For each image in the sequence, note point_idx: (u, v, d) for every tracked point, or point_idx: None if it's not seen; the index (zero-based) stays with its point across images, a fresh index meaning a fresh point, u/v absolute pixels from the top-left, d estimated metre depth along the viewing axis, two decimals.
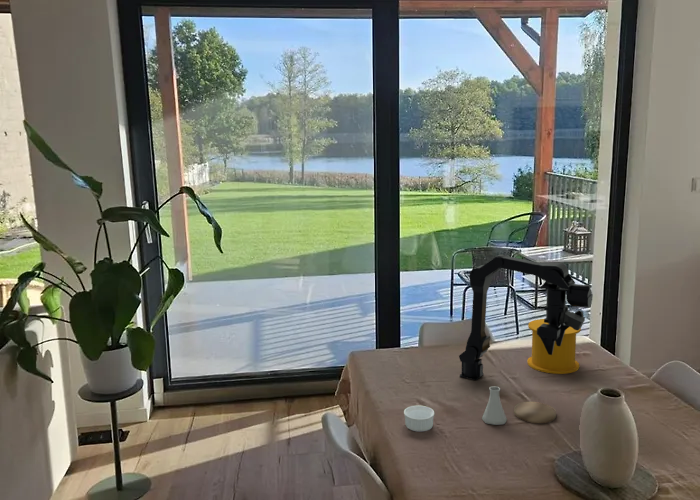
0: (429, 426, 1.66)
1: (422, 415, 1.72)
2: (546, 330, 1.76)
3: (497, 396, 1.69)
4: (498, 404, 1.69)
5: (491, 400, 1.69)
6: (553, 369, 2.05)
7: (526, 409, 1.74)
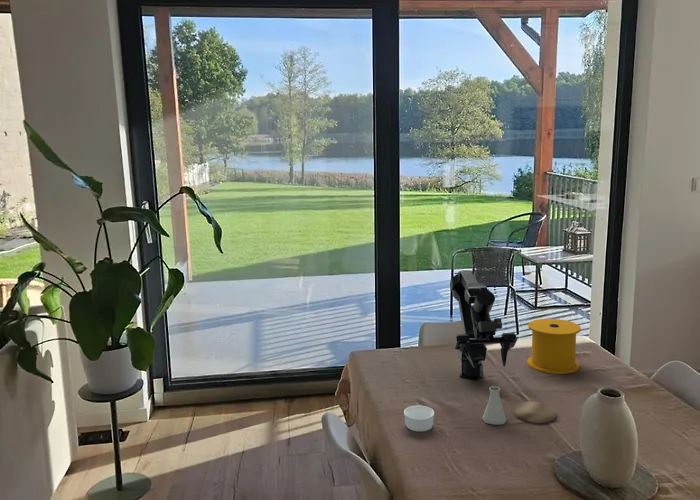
0: (429, 426, 1.66)
1: (422, 415, 1.72)
2: (455, 339, 1.82)
3: (497, 396, 1.69)
4: (498, 404, 1.69)
5: (491, 400, 1.69)
6: (553, 369, 2.05)
7: (526, 409, 1.74)
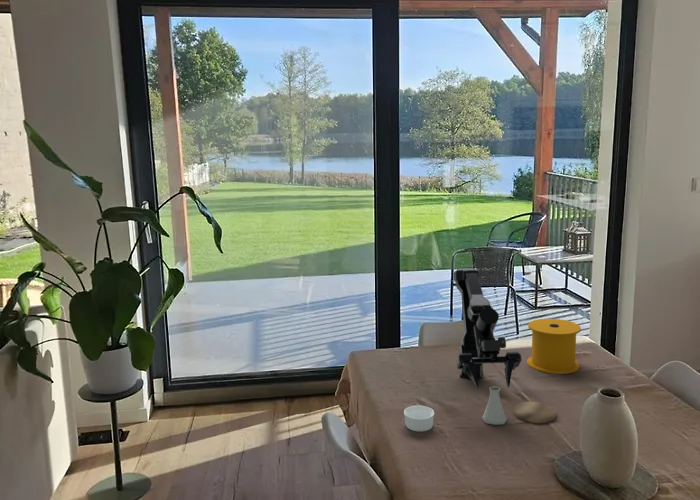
0: (429, 426, 1.66)
1: (422, 415, 1.72)
2: None
3: (497, 396, 1.69)
4: (498, 404, 1.69)
5: (491, 400, 1.69)
6: (553, 369, 2.05)
7: (526, 409, 1.74)
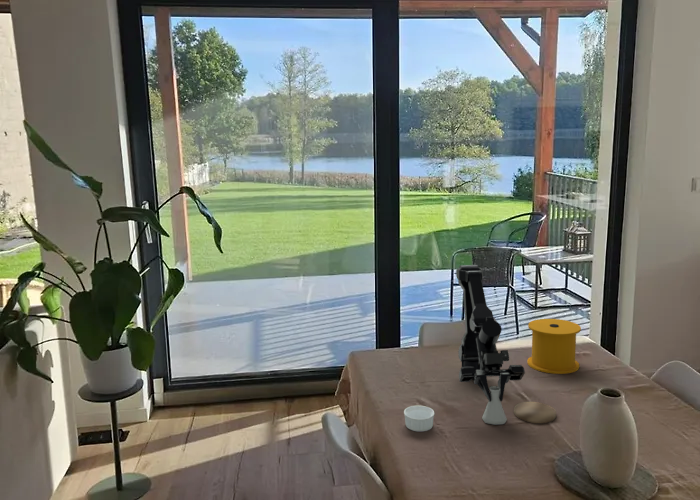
0: (429, 426, 1.66)
1: (422, 415, 1.72)
2: None
3: (497, 395, 1.69)
4: (498, 404, 1.69)
5: (491, 400, 1.69)
6: (553, 369, 2.05)
7: (526, 409, 1.74)
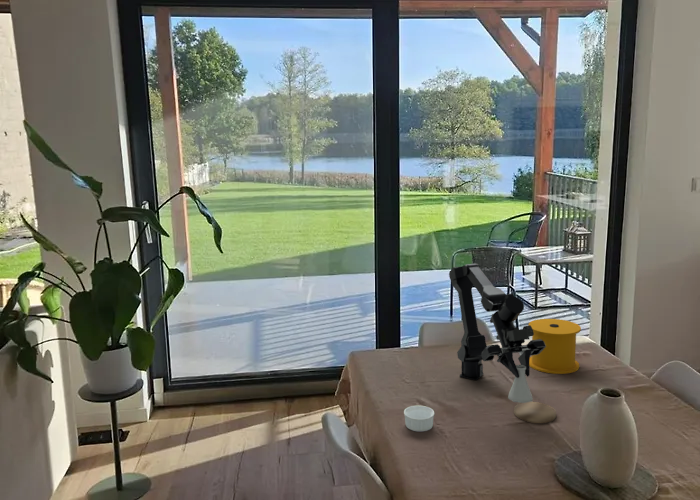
0: (429, 426, 1.66)
1: (422, 415, 1.72)
2: (484, 351, 1.72)
3: (524, 374, 1.69)
4: (525, 382, 1.69)
5: (518, 378, 1.69)
6: (553, 369, 2.05)
7: (526, 409, 1.74)
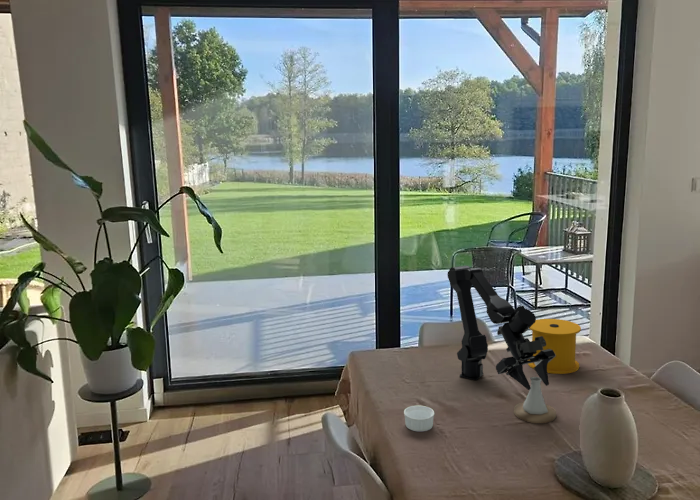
0: (429, 426, 1.66)
1: (422, 415, 1.72)
2: (499, 364, 1.73)
3: (539, 385, 1.72)
4: (541, 393, 1.72)
5: (534, 391, 1.72)
6: (553, 369, 2.05)
7: None
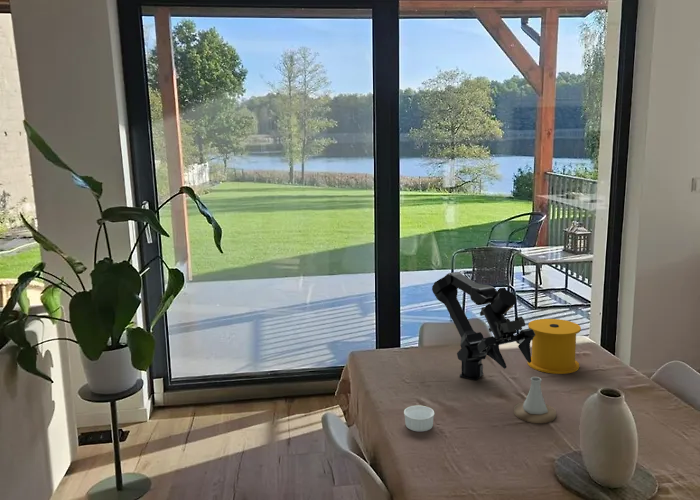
0: (429, 426, 1.66)
1: (422, 415, 1.72)
2: (480, 343, 1.81)
3: (539, 385, 1.72)
4: (541, 393, 1.72)
5: (534, 391, 1.72)
6: (553, 369, 2.05)
7: None
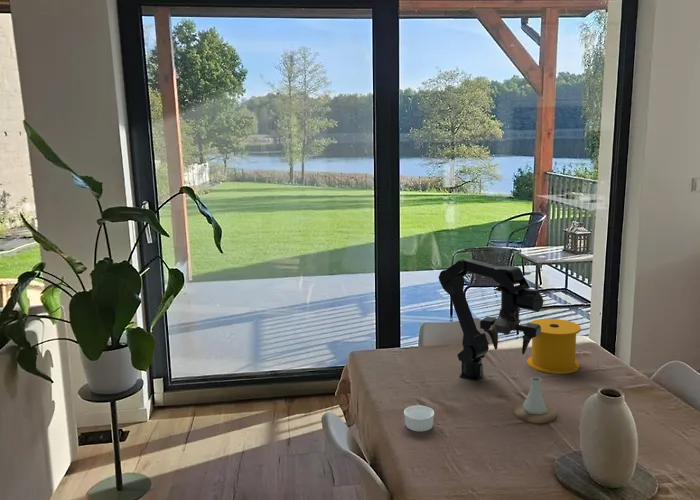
0: (429, 426, 1.66)
1: (422, 415, 1.72)
2: None
3: (539, 385, 1.72)
4: (541, 393, 1.72)
5: (534, 391, 1.72)
6: (553, 369, 2.05)
7: None
